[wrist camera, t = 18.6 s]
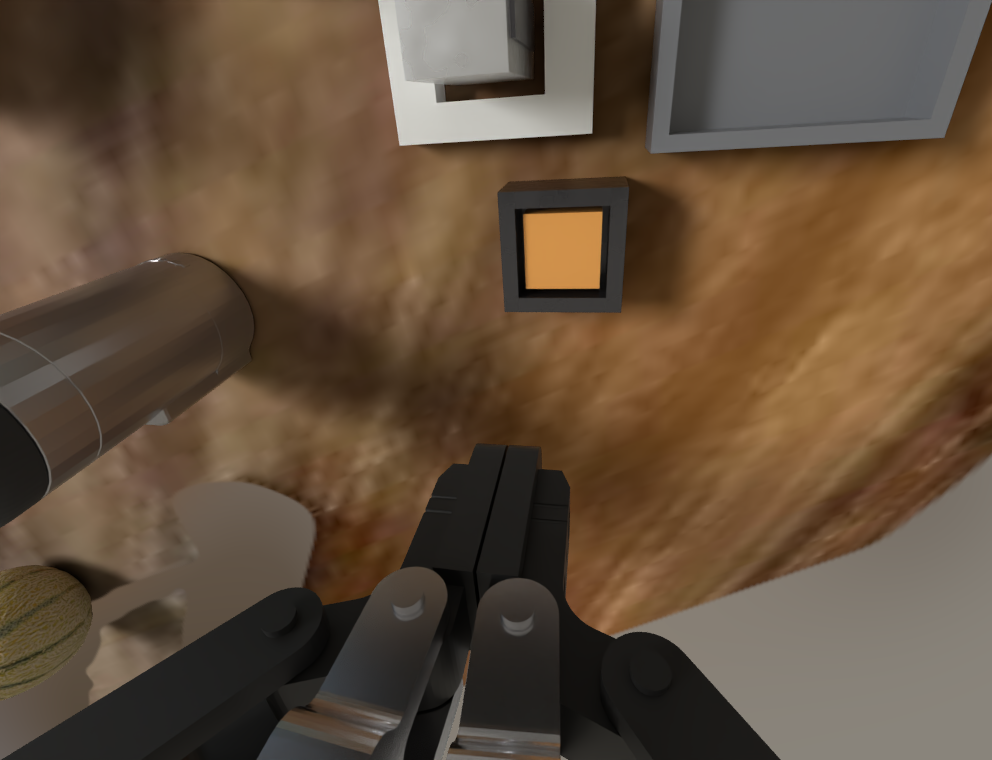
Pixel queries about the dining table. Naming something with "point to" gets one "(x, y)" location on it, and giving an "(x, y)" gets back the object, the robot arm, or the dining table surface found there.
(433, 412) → the dining table surface
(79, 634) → the cantaloupe
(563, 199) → the button housing
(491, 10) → the block
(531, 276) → the button
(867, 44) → the tray
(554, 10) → the white slotted plate
